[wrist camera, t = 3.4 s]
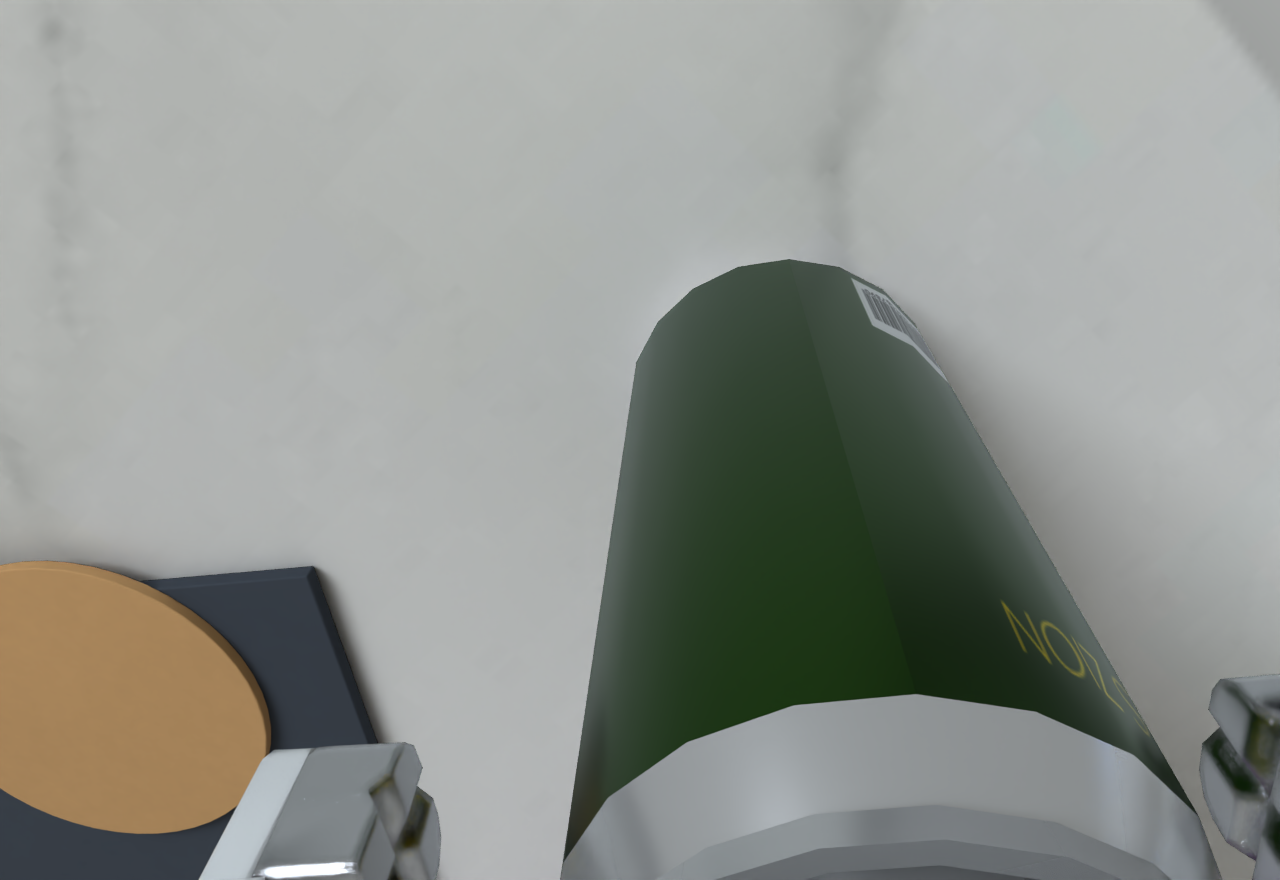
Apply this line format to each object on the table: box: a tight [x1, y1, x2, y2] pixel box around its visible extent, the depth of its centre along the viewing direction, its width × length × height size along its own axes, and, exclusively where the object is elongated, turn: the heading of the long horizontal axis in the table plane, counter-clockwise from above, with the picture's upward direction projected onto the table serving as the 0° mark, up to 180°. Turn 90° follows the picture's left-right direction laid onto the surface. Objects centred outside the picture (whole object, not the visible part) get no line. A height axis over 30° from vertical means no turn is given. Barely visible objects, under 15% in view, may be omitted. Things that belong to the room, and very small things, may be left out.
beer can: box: [560, 259, 1222, 880], centre depth 12 cm, size 5×5×12 cm
